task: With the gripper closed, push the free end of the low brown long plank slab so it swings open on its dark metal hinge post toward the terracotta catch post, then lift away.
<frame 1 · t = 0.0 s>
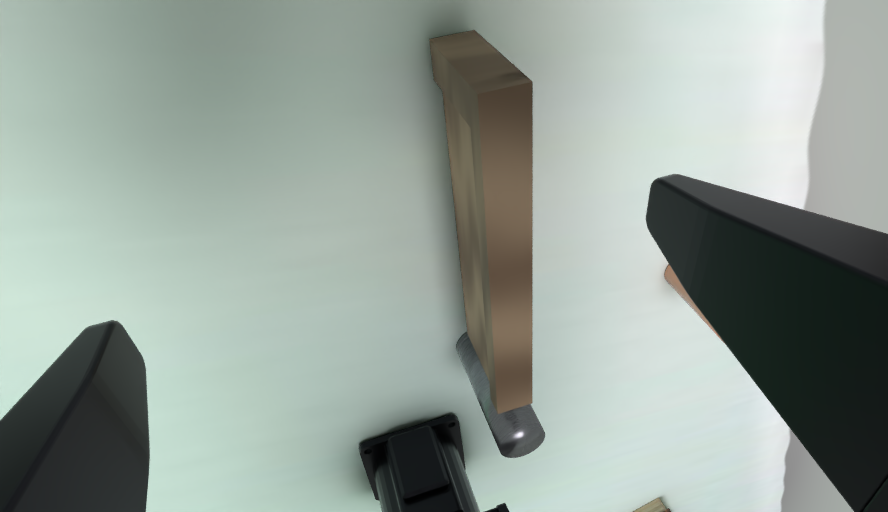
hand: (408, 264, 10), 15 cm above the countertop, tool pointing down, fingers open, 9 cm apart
catch post: (682, 268, 35), on the countertop
brown long plank slab: (487, 244, 25), point 3 cm above the countertop, hinge at 0.0°
hinge post: (475, 342, 34), on the countertop
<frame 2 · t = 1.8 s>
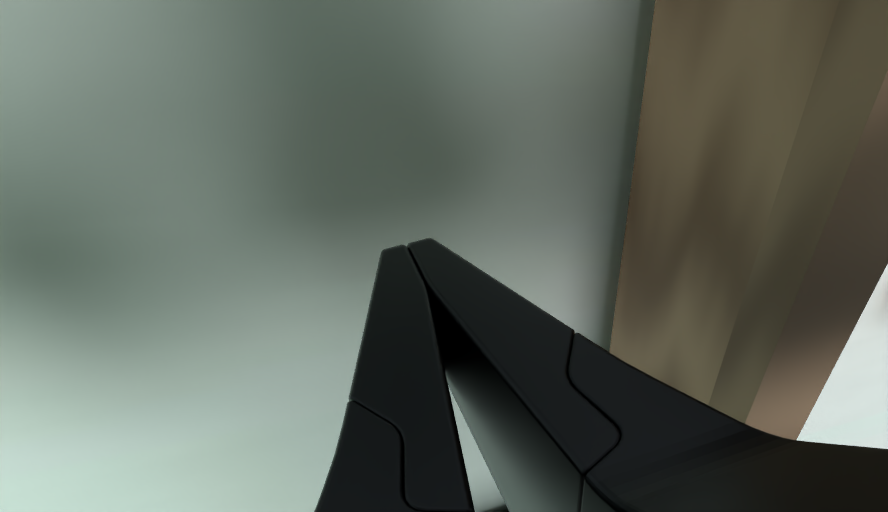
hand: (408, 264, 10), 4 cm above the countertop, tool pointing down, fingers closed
brown long plank slab: (723, 236, 13), point 3 cm above the countertop, hinge at 0.0°
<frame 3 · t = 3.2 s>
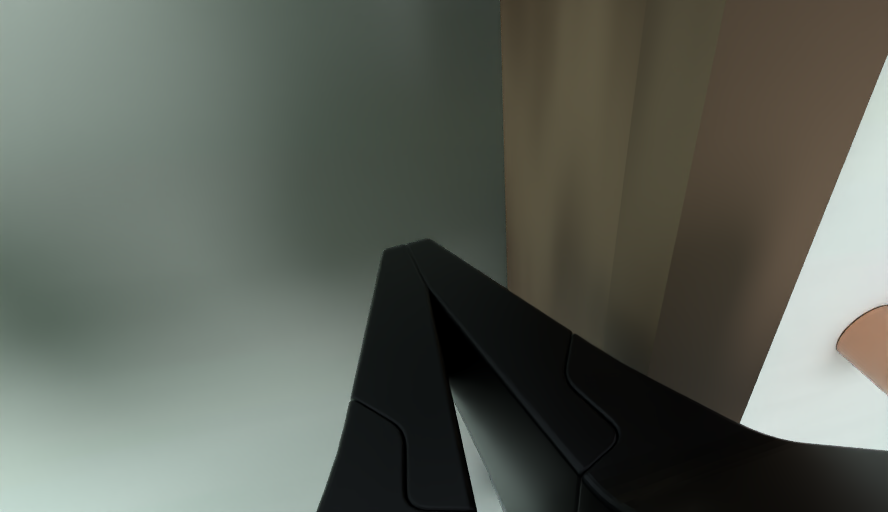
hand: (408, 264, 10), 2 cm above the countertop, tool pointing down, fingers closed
catch post: (866, 330, 21), on the countertop
brown long plank slab: (591, 330, 11), point 3 cm above the countertop, hinge at 0.0°, touching gripper
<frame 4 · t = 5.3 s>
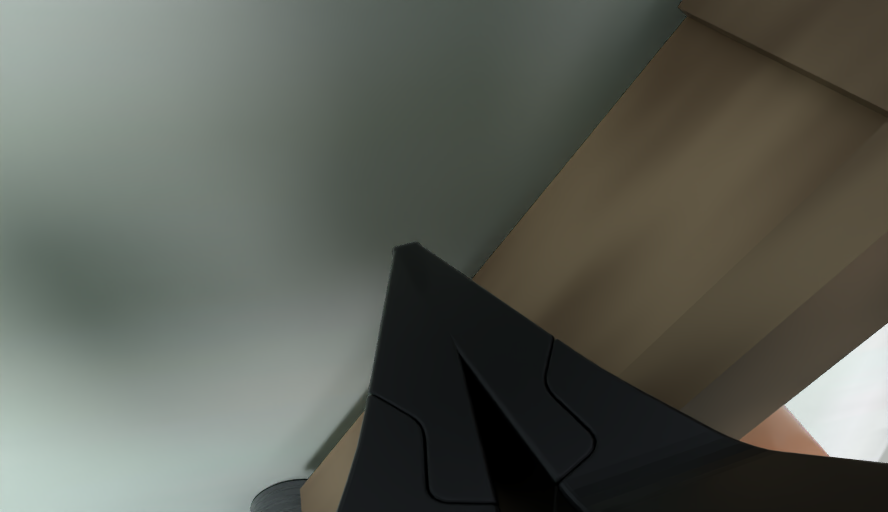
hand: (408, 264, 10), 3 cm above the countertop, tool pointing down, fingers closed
catch post: (698, 365, 19), on the countertop
brown long plank slab: (536, 380, 11), point 3 cm above the countertop, hinge at 40.8°, touching gripper
hinge post: (292, 503, 17), on the countertop
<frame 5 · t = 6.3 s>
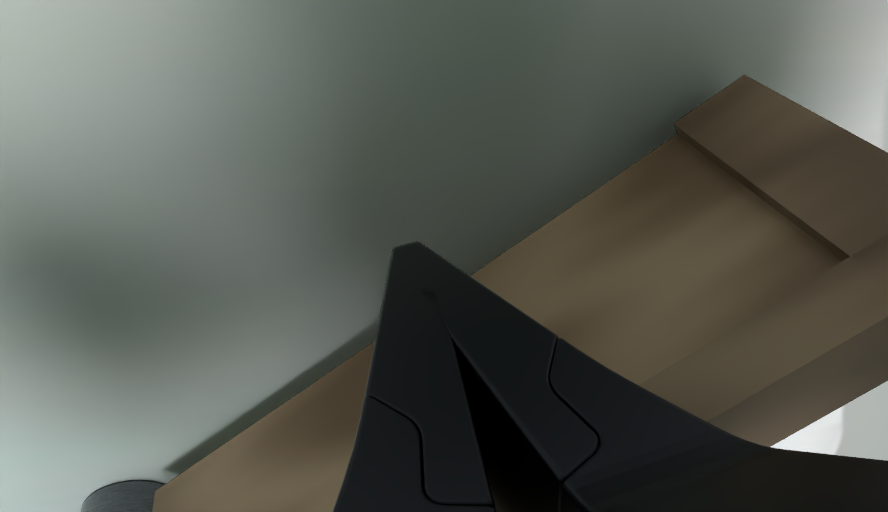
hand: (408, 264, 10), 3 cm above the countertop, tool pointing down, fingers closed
brown long plank slab: (468, 420, 11), point 3 cm above the countertop, hinge at 62.1°, touching gripper
hinge post: (133, 507, 15), on the countertop
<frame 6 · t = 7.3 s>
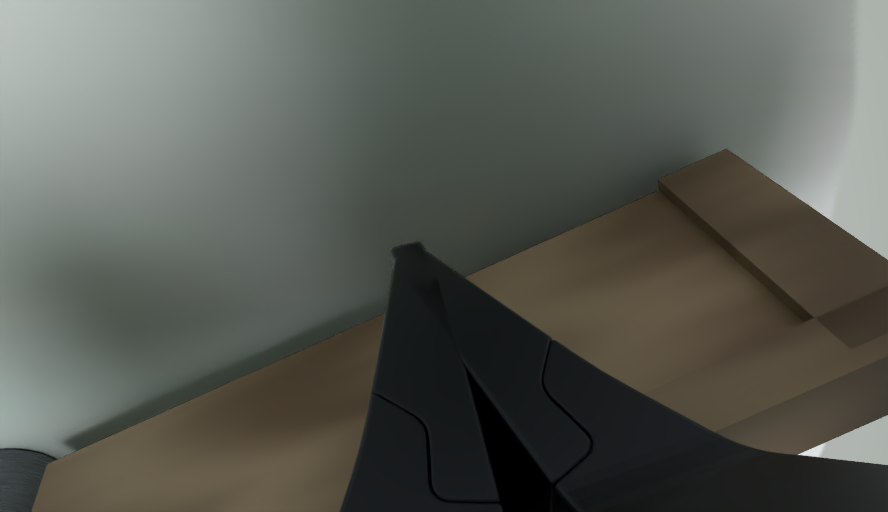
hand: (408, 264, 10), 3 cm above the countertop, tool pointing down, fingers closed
brown long plank slab: (420, 429, 11), point 3 cm above the countertop, hinge at 75.7°, touching gripper
hinge post: (12, 481, 14), on the countertop
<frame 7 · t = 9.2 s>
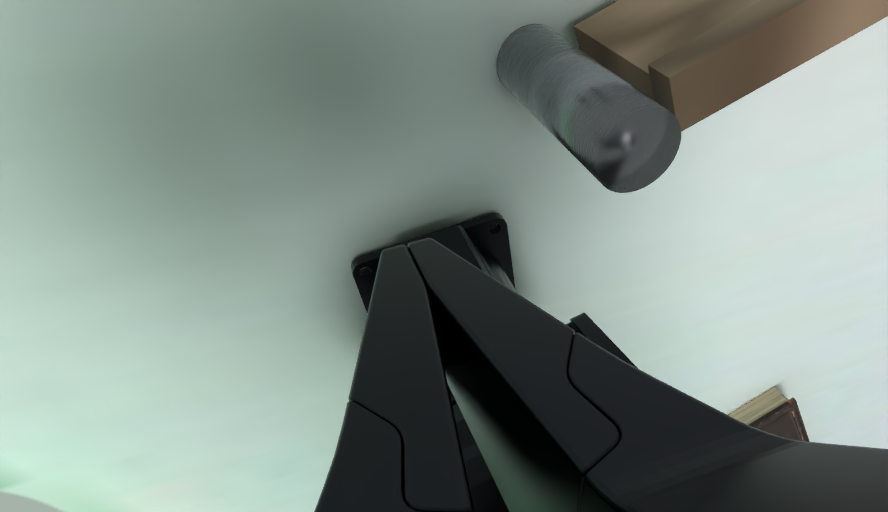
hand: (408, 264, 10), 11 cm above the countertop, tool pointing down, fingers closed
hinge post: (529, 59, 20), on the countertop
hardcover book: (661, 491, 47), on the countertop
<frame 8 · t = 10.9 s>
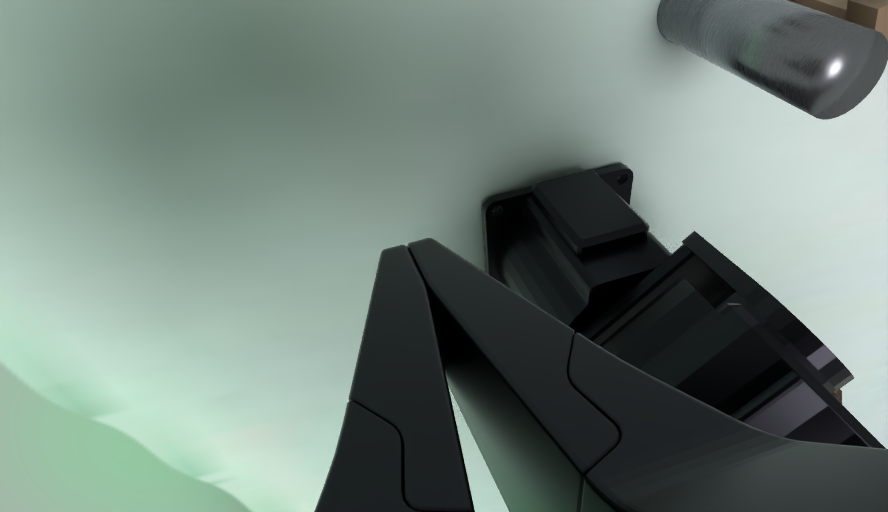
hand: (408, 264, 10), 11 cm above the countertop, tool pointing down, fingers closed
hinge post: (687, 7, 21), on the countertop
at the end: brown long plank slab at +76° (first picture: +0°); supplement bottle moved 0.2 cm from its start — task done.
